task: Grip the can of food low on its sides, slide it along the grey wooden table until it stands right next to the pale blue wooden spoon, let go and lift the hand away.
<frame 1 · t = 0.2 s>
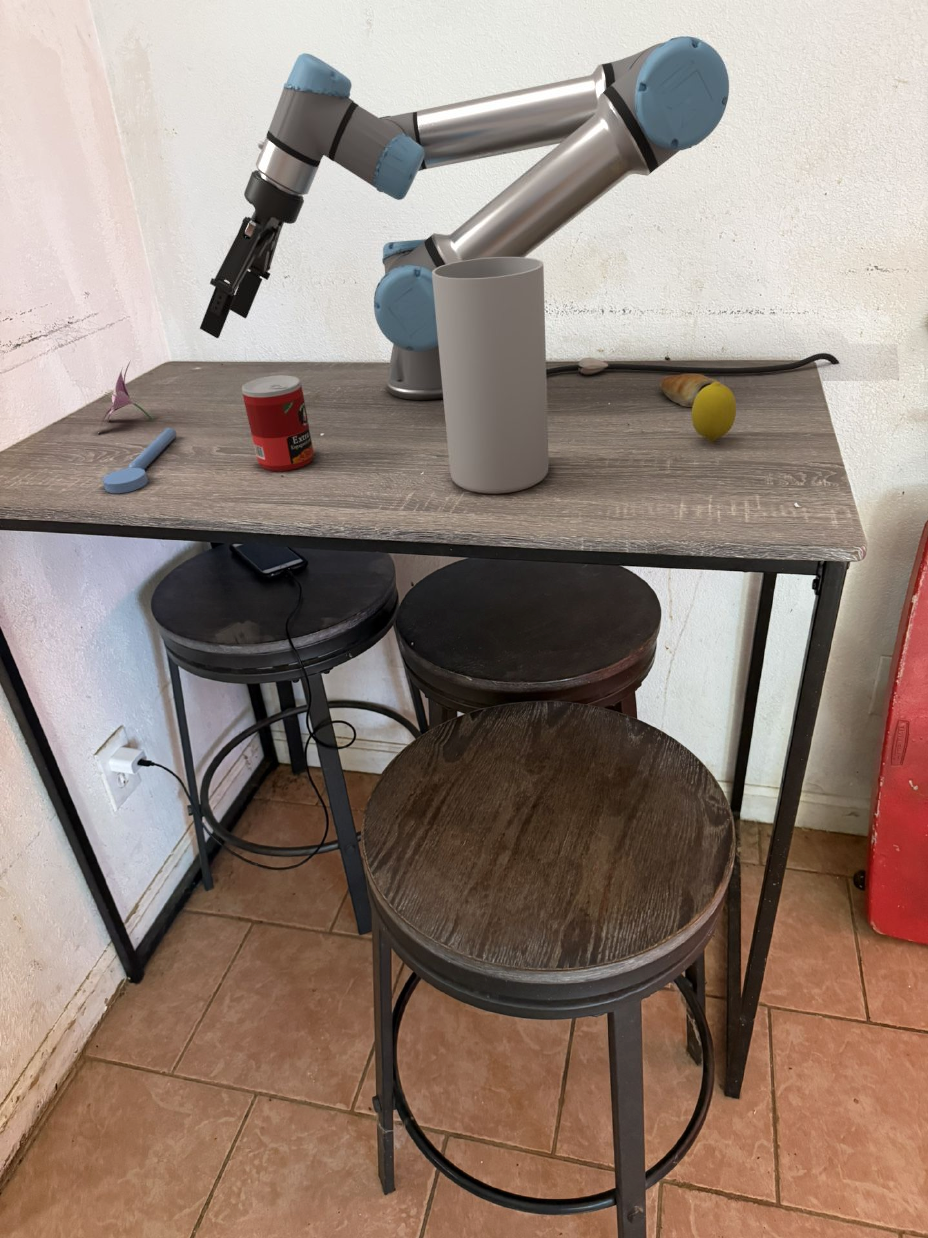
hand: (224, 322, 124), 16 cm above the table, tool tilted 35°, fingers open, 13 cm apart
canned food: (286, 462, 118), on the table
cylinder vase: (499, 477, 108), on the table
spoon: (147, 463, 121), on the table
lily: (126, 424, 138), on the table
seashell: (593, 374, 142), on the table
pastry: (688, 399, 127), on the table
lemon: (711, 442, 112), on the table
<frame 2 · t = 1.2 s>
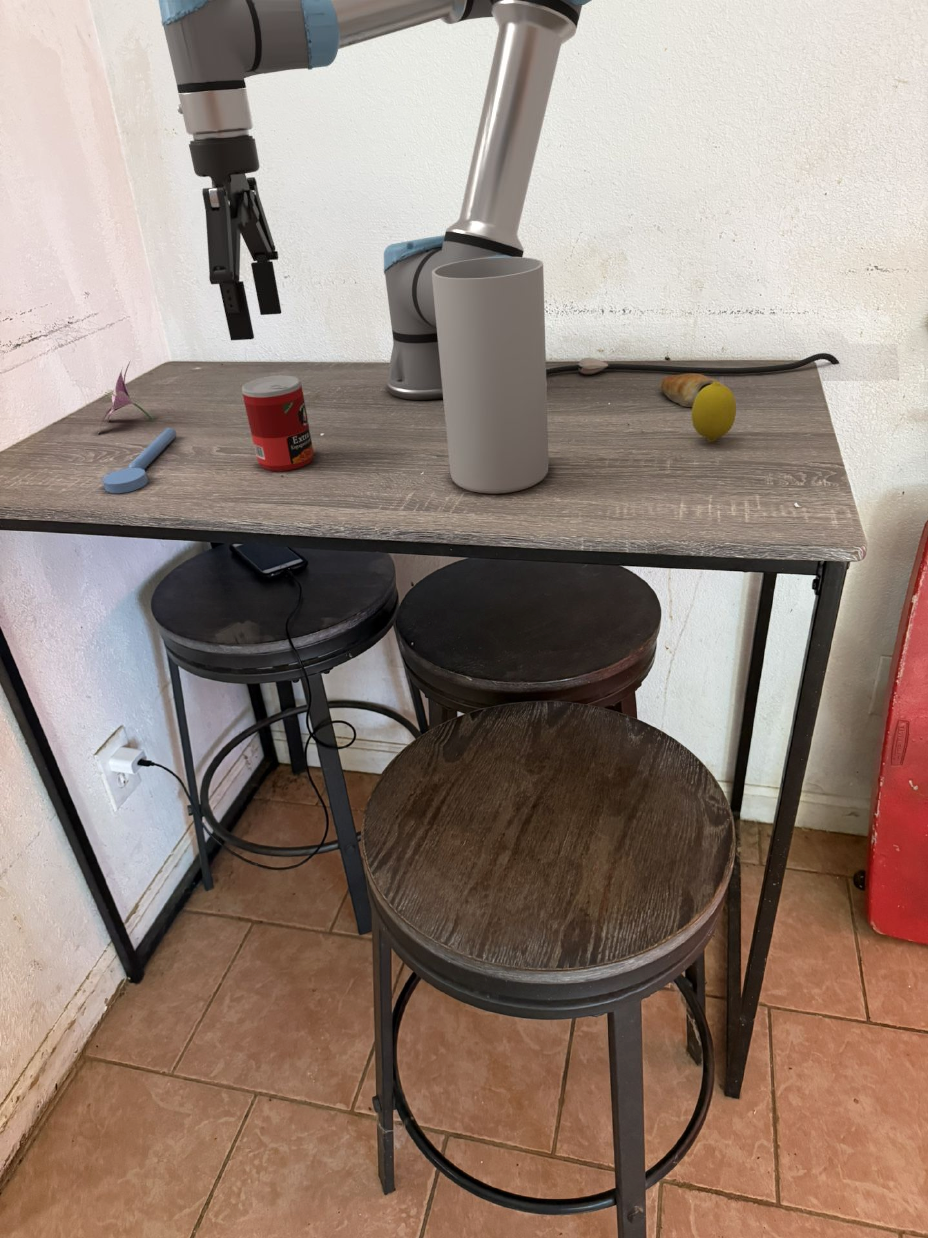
hand: (257, 326, 108), 18 cm above the table, tool pointing down, fingers open, 13 cm apart
nothing on the table moved.
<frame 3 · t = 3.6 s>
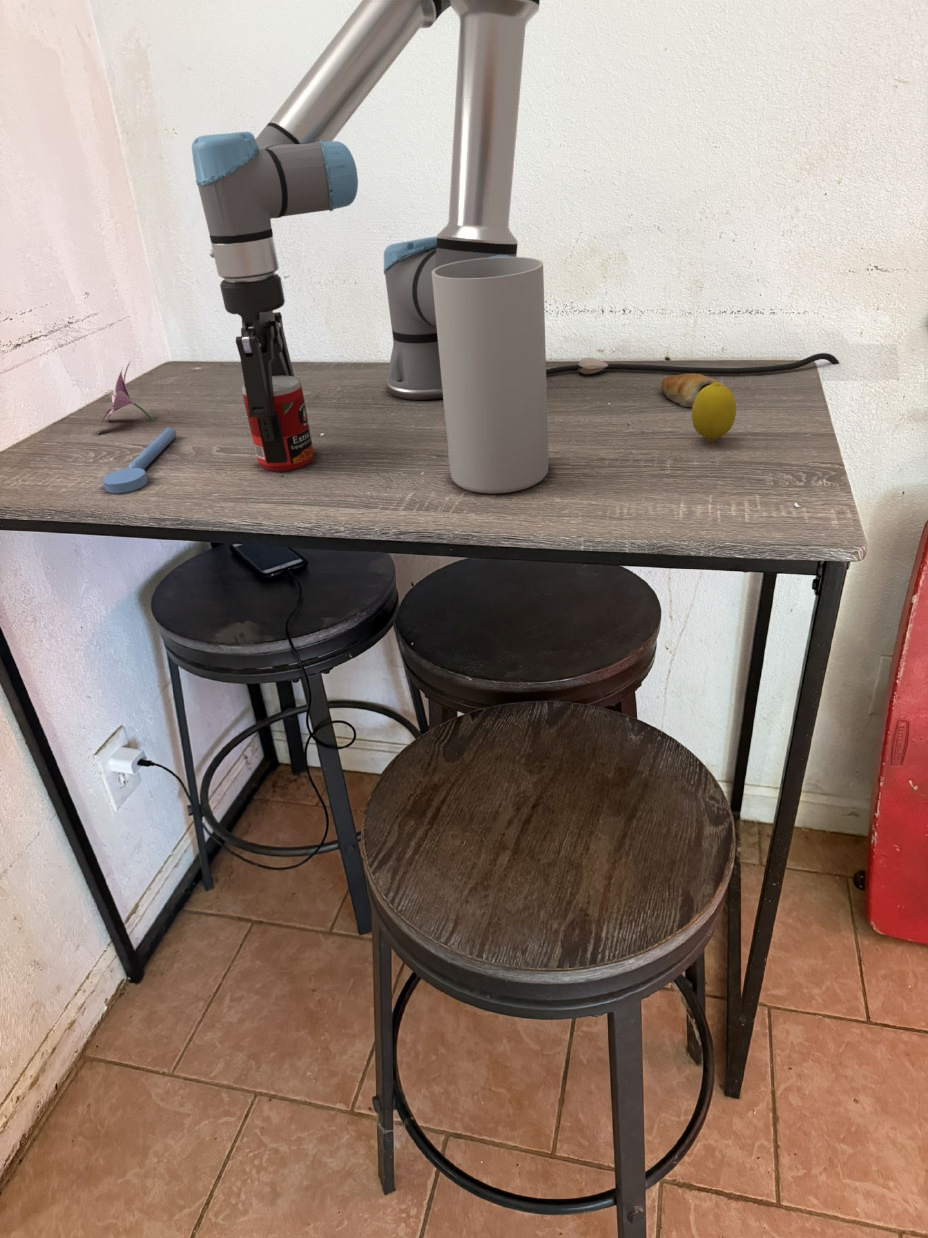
hand: (284, 450, 117), 2 cm above the table, tool pointing down, fingers closed on canned food, 8 cm apart
canned food: (286, 462, 118), on the table, touching gripper
everything else where it was.
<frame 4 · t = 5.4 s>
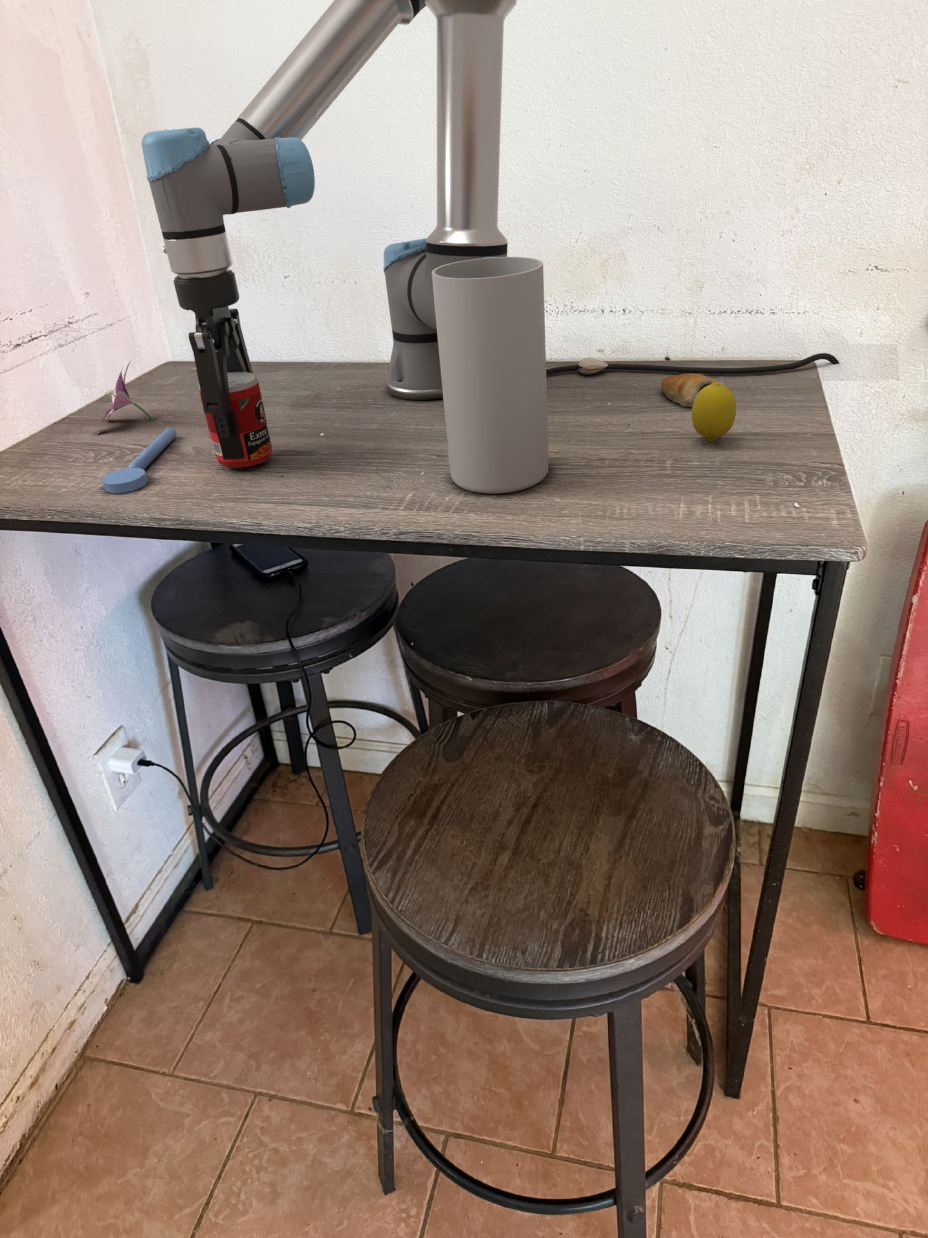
hand: (242, 446, 117), 3 cm above the table, tool pointing down, fingers closed on canned food, 8 cm apart
canned food: (245, 459, 118), point 1 cm above the table, touching gripper
everything else where it was.
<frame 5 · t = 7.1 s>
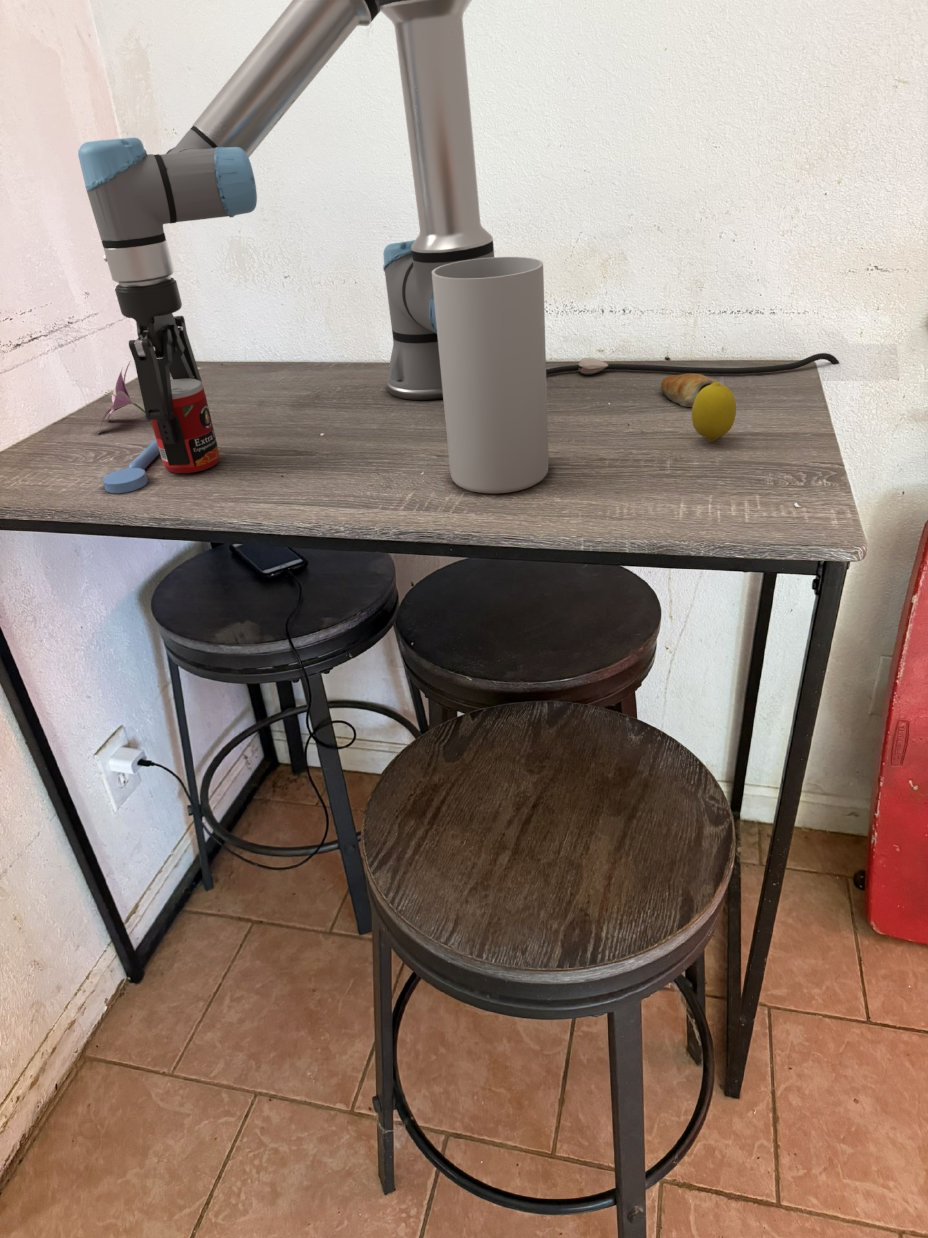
hand: (189, 452, 118), 2 cm above the table, tool pointing down, fingers closed on canned food, 8 cm apart
canned food: (193, 464, 119), on the table, touching gripper
everything else where it was.
when the fingers open (2 cm above the table, at t = 7.7 s): canned food stays where it is, on the table.
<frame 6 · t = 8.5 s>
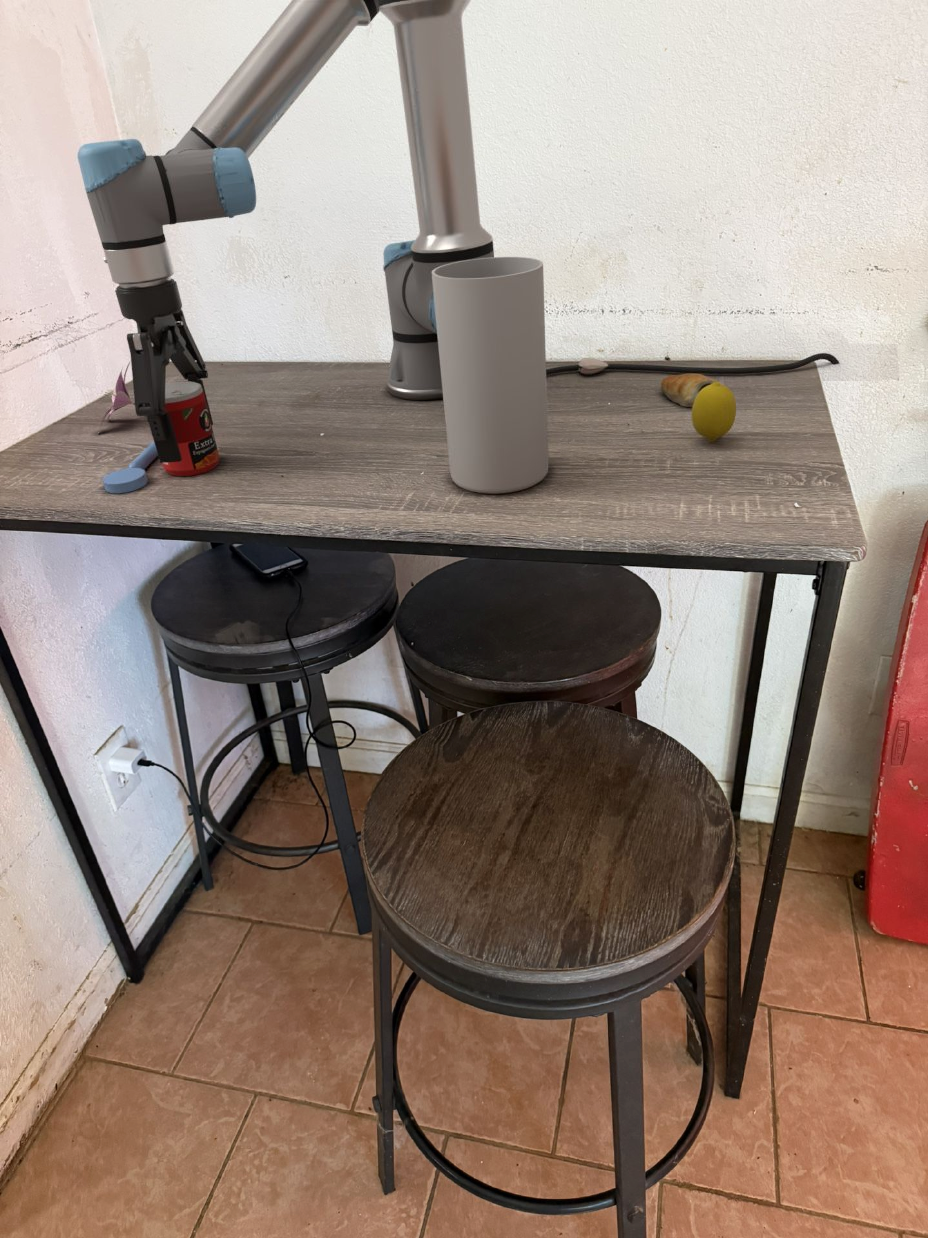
hand: (188, 442, 117), 3 cm above the table, tool pointing down, fingers open, 13 cm apart
canned food: (192, 467, 119), on the table
everything else where it was.
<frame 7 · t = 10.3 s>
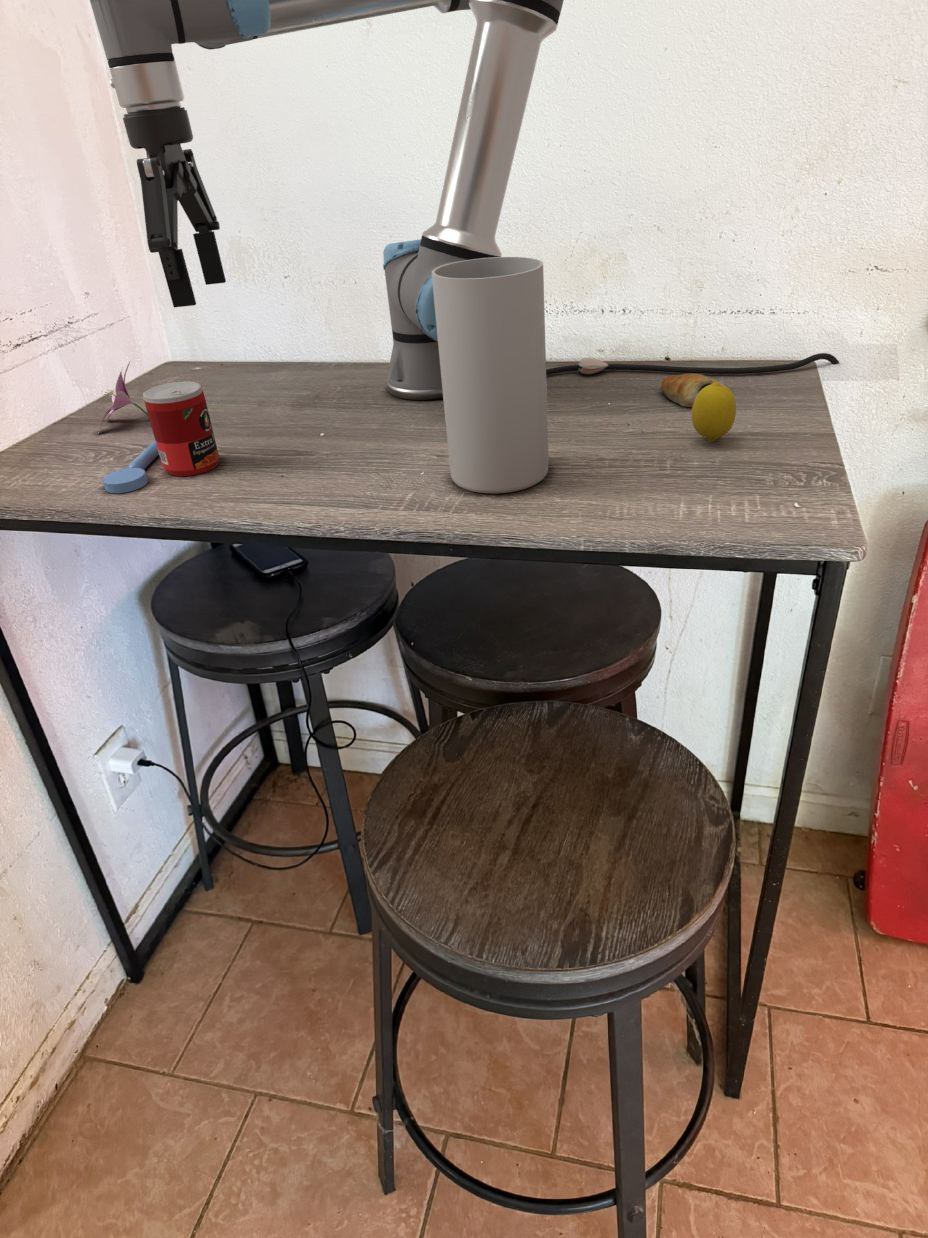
hand: (201, 294, 112), 22 cm above the table, tool pointing down, fingers open, 13 cm apart
nothing on the table moved.
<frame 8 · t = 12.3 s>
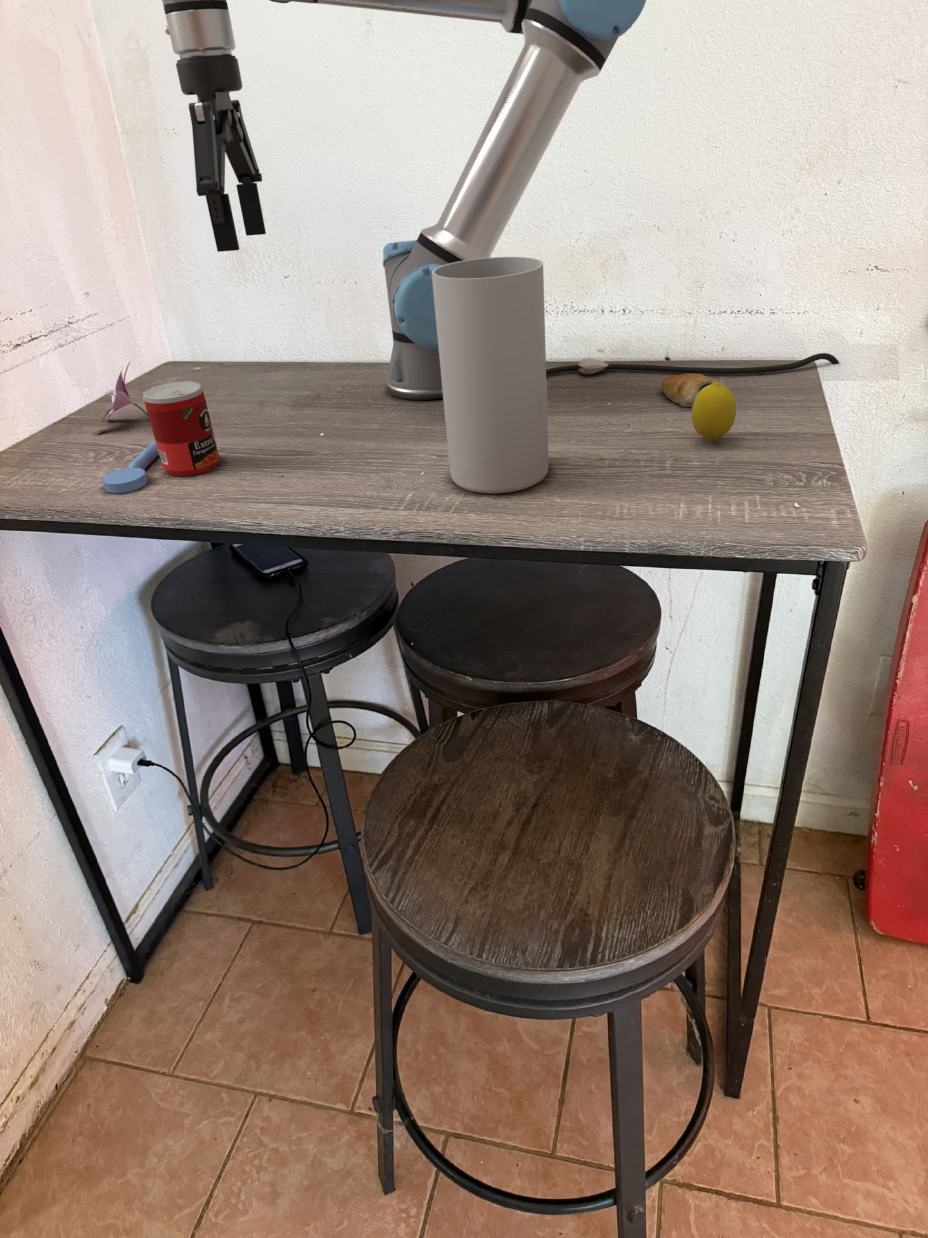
hand: (243, 242, 115), 27 cm above the table, tool pointing down, fingers open, 13 cm apart
nothing on the table moved.
at the end: canned food 7.7 cm from the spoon (horizontally); canned food inside the target area (0.6 cm from its centre), on the table; canned food tilted 0° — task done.
